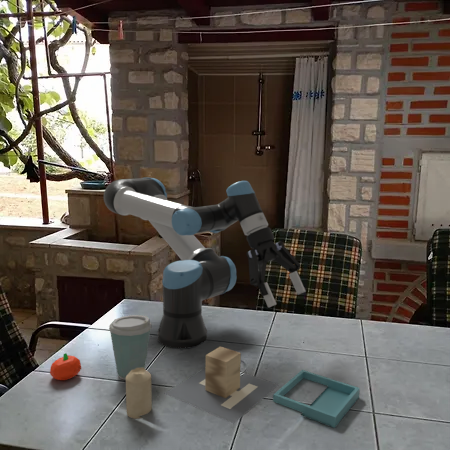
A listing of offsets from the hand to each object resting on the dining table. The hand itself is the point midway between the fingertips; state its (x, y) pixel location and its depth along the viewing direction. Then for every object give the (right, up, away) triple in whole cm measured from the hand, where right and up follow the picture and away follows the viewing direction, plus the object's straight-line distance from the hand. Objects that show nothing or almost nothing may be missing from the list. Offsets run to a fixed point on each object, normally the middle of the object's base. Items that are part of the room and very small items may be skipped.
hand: (287, 299), depth 132 cm
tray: (+4, -20, -22) cm, 30 cm away
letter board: (-18, -19, -19) cm, 33 cm away
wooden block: (-18, -19, -19) cm, 32 cm away
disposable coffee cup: (-42, -18, -11) cm, 47 cm away
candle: (-37, -21, -28) cm, 51 cm away
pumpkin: (-58, -18, -13) cm, 62 cm away
